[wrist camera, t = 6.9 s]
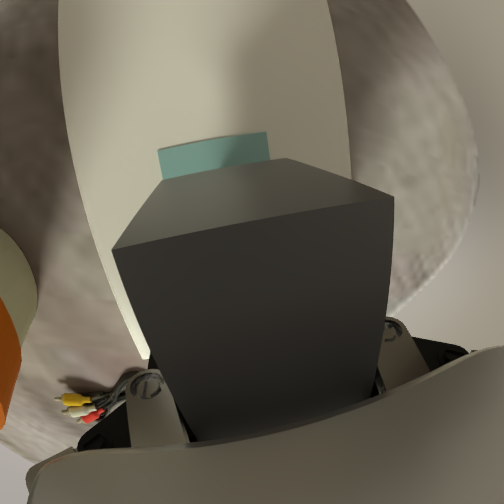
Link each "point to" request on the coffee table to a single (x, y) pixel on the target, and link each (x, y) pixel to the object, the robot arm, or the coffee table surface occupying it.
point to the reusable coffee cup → (13, 315)
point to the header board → (192, 99)
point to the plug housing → (260, 292)
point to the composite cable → (94, 401)
